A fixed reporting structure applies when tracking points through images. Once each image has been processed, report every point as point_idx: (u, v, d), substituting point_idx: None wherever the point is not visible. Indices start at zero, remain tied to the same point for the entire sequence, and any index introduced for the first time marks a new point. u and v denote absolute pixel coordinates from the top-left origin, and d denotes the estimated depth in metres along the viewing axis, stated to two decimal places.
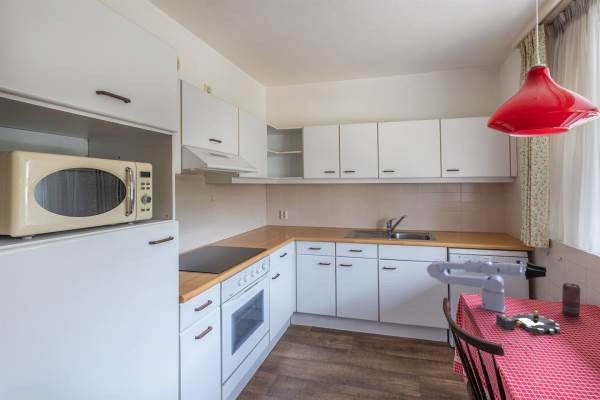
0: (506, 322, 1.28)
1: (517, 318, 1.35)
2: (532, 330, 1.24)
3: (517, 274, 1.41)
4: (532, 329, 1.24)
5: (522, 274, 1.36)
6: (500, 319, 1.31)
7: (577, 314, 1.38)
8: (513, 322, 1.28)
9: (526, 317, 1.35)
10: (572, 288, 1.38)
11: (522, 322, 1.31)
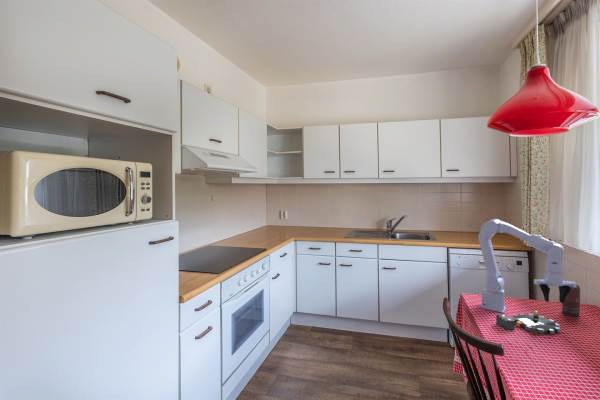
0: (506, 322, 1.28)
1: (517, 318, 1.35)
2: (532, 330, 1.24)
3: None
4: (532, 329, 1.24)
5: (534, 282, 1.35)
6: (500, 319, 1.31)
7: (577, 314, 1.38)
8: (513, 322, 1.28)
9: (526, 317, 1.35)
10: (572, 288, 1.38)
11: (522, 322, 1.31)
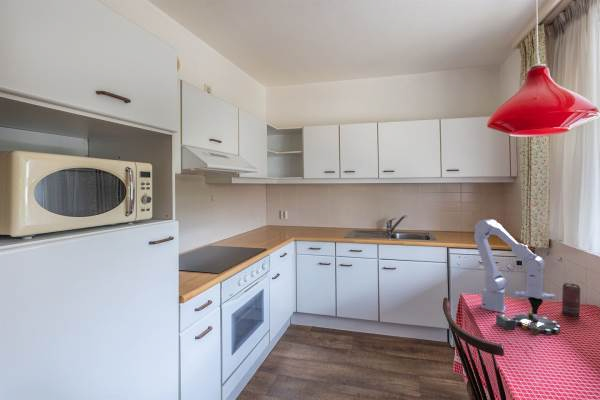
0: (506, 322, 1.28)
1: (519, 320, 1.33)
2: (532, 330, 1.24)
3: None
4: (532, 329, 1.24)
5: (515, 294, 1.38)
6: (500, 319, 1.31)
7: (577, 314, 1.38)
8: (513, 322, 1.28)
9: (524, 318, 1.35)
10: (572, 288, 1.38)
11: (527, 324, 1.29)
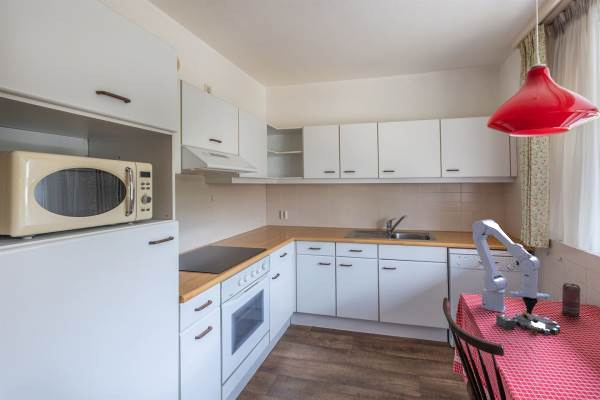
0: (506, 322, 1.28)
1: (524, 323, 1.30)
2: (532, 330, 1.24)
3: None
4: (532, 329, 1.24)
5: (510, 294, 1.38)
6: (500, 319, 1.31)
7: (577, 314, 1.38)
8: (513, 322, 1.28)
9: (524, 319, 1.33)
10: (572, 288, 1.38)
11: (535, 326, 1.27)
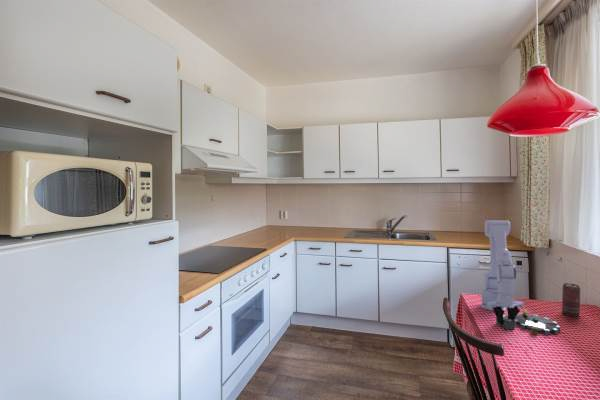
0: (506, 322, 1.28)
1: (524, 323, 1.30)
2: (532, 330, 1.24)
3: (497, 298, 1.32)
4: (532, 329, 1.24)
5: (488, 305, 1.31)
6: None
7: (577, 314, 1.38)
8: (513, 322, 1.28)
9: (524, 319, 1.33)
10: (572, 288, 1.38)
11: (535, 327, 1.27)
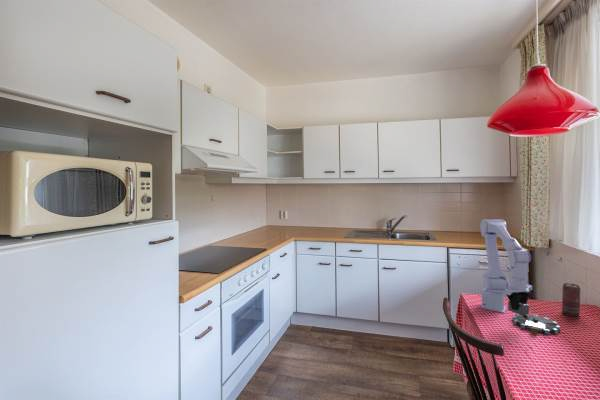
0: (523, 307, 1.26)
1: (524, 323, 1.30)
2: (532, 330, 1.24)
3: (511, 284, 1.30)
4: (532, 329, 1.24)
5: (506, 292, 1.27)
6: None
7: (577, 314, 1.38)
8: (528, 306, 1.27)
9: (524, 319, 1.33)
10: (572, 288, 1.38)
11: (535, 327, 1.27)
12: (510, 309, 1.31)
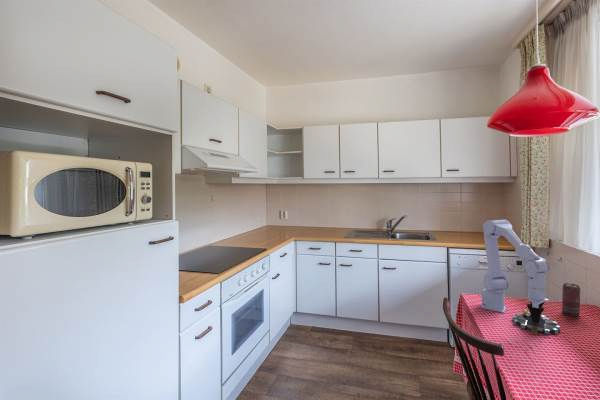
0: None
1: (524, 323, 1.30)
2: (532, 330, 1.24)
3: (531, 295, 1.27)
4: (532, 329, 1.24)
5: (535, 305, 1.22)
6: None
7: (577, 314, 1.38)
8: None
9: (524, 319, 1.33)
10: (572, 288, 1.38)
11: (535, 327, 1.27)
12: (529, 323, 1.28)
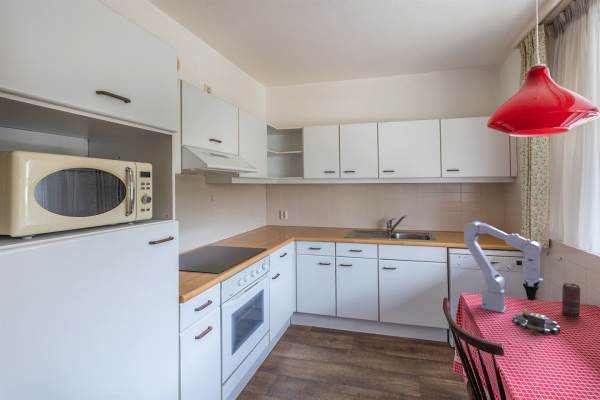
0: None
1: (524, 323, 1.30)
2: (532, 330, 1.24)
3: (527, 275, 1.37)
4: (532, 329, 1.24)
5: (530, 284, 1.33)
6: (535, 318, 1.27)
7: (577, 314, 1.38)
8: None
9: (524, 319, 1.33)
10: (572, 288, 1.38)
11: (535, 327, 1.27)
12: (529, 323, 1.28)
